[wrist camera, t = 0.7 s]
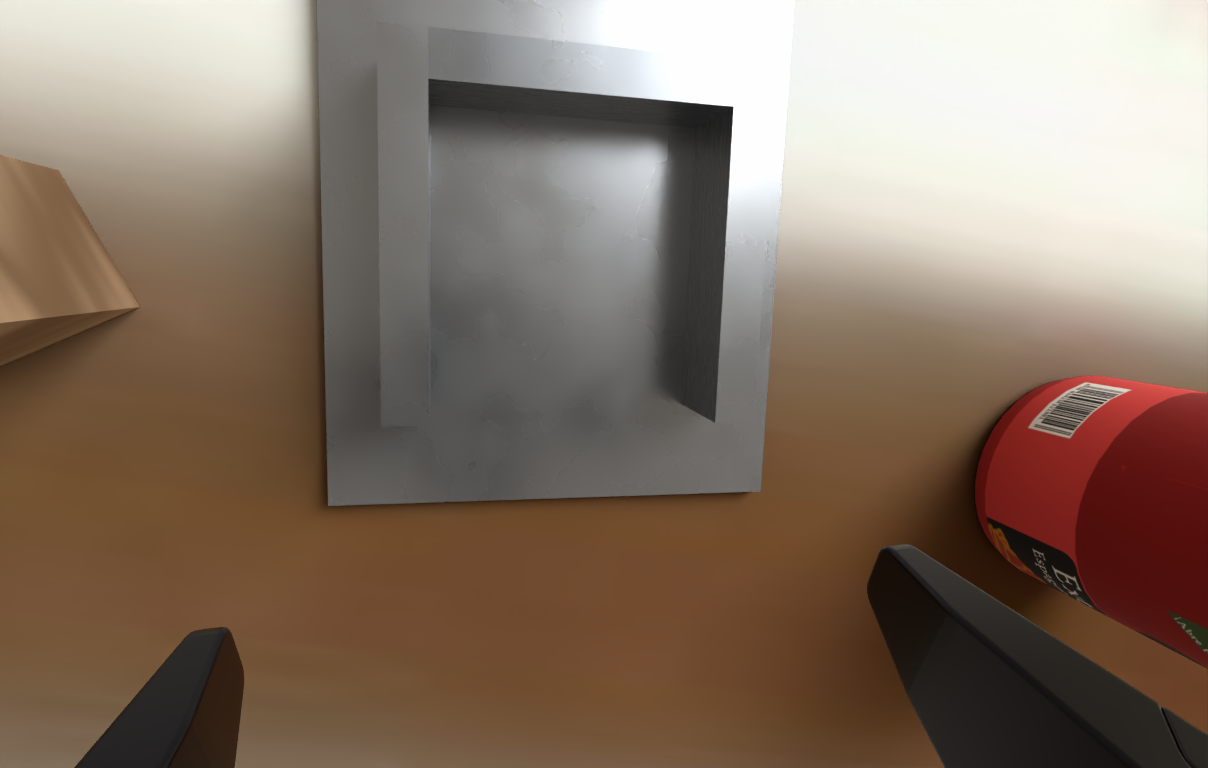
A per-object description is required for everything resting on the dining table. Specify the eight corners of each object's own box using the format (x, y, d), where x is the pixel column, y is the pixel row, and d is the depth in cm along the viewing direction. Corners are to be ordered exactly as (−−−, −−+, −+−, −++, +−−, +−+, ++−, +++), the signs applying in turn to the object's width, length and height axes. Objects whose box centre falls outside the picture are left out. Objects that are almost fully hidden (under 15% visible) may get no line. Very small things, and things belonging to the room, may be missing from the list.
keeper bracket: (754, 487, 25) (802, 520, 22) (330, 500, 22) (310, 542, 19) (787, -1, 23) (847, -49, 19) (317, -62, 20) (292, -131, 16)
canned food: (940, 551, 27) (1258, 729, 17) (1007, 348, 27) (1383, 400, 16) (1096, 585, 29) (1469, 764, 19) (1162, 397, 28) (1590, 471, 18)
